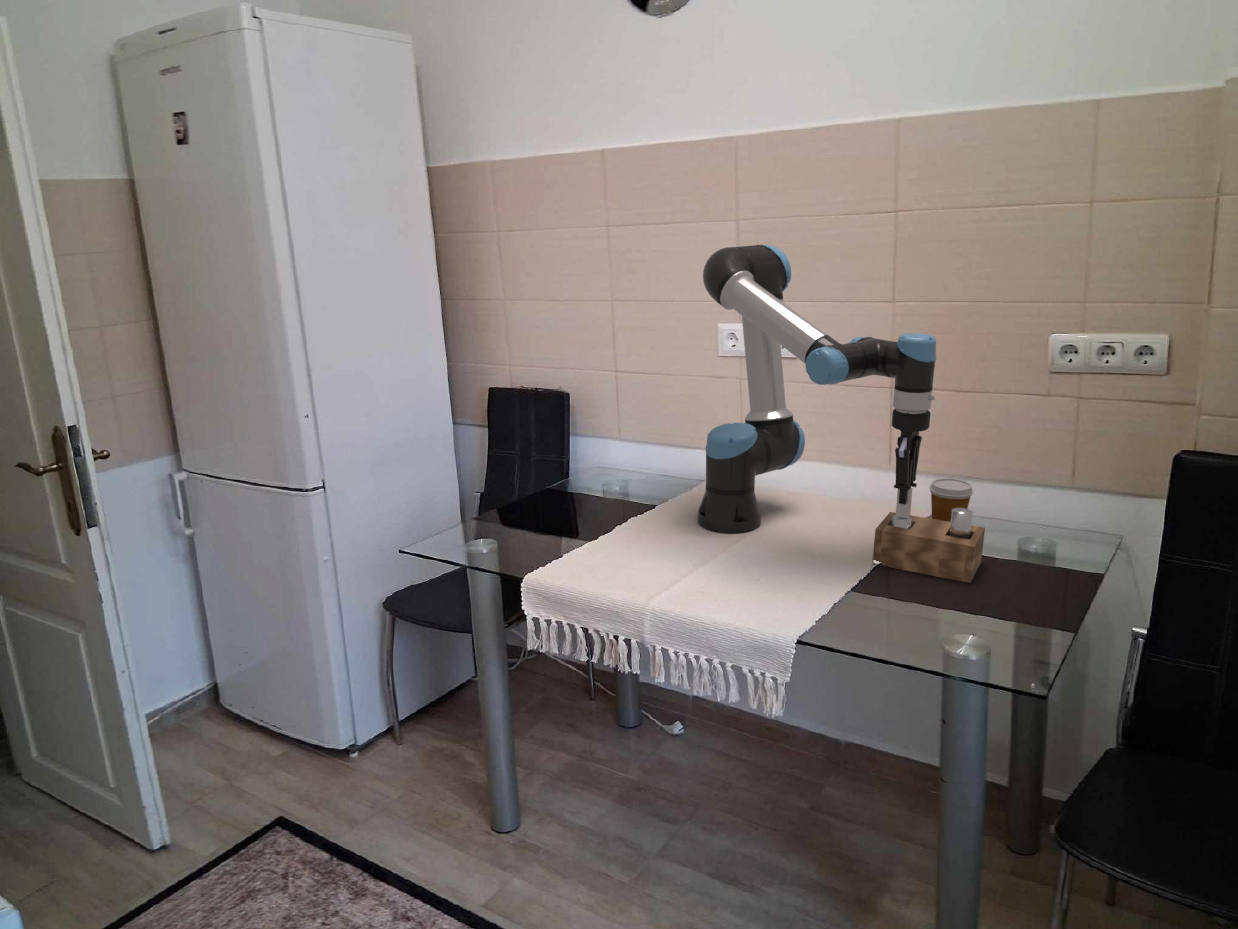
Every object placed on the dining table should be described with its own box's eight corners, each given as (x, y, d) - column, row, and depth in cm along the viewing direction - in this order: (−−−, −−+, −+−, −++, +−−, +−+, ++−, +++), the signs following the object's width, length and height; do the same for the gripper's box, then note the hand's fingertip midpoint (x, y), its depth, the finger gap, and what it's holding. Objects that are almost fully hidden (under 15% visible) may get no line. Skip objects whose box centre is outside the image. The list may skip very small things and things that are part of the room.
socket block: (872, 563, 195) (875, 529, 193) (887, 545, 205) (890, 511, 203) (970, 583, 185) (974, 546, 183) (980, 562, 195) (985, 527, 193)
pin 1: (887, 550, 197) (890, 518, 195) (892, 544, 200) (895, 512, 198) (906, 554, 195) (909, 521, 193) (910, 547, 198) (913, 516, 196)
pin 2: (946, 545, 190) (950, 512, 188) (950, 539, 193) (954, 506, 191) (966, 549, 188) (970, 515, 186) (970, 542, 191) (974, 509, 189)
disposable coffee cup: (966, 527, 215) (971, 479, 211) (970, 542, 206) (975, 492, 202) (924, 524, 217) (928, 476, 214) (925, 538, 208) (930, 489, 205)
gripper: (922, 418, 181) (913, 529, 188) (937, 404, 192) (927, 510, 199) (885, 414, 185) (876, 523, 192) (901, 401, 195) (893, 504, 202)
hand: (902, 516), depth 195 cm, fingers closed
